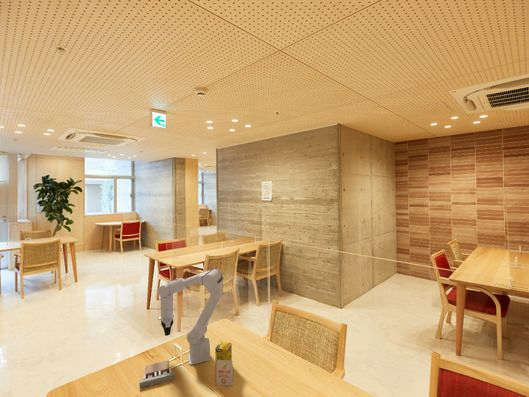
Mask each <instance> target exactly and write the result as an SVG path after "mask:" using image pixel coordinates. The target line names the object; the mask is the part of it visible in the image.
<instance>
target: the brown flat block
mask: <svg viewBox="0 0 529 397" xmlns="http://www.w3.org/2000/svg"><path fill="white" fill-rule="evenodd" d="M144 366H145V367H144V374H146V379H147V378H151V377H155V372H156V376H159V371H161V375H163V374H167V373H169V368H171V367H170V360H169V359H167V360H164V361H159V362H155V363H151V364H146V365H144Z"/></svg>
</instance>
